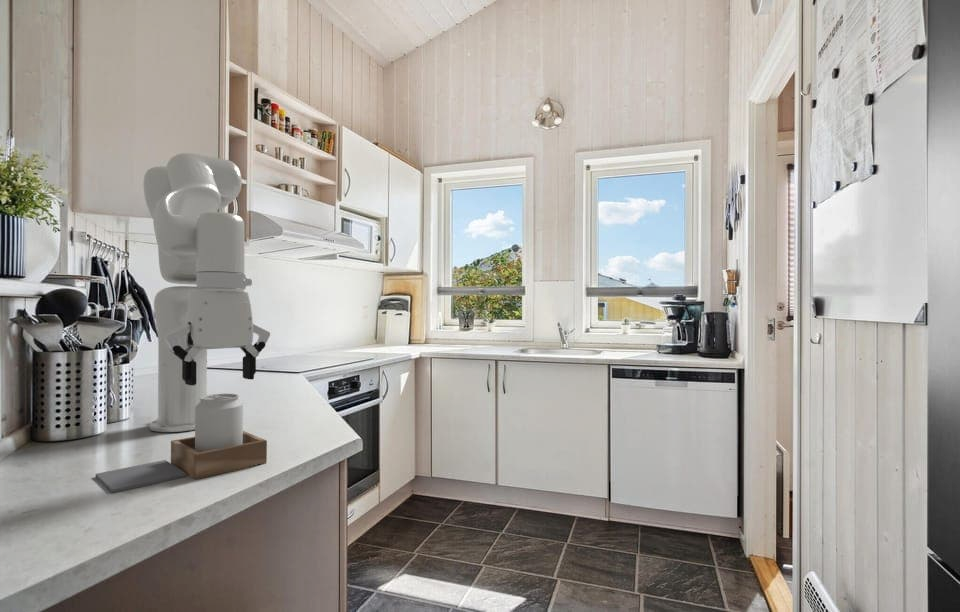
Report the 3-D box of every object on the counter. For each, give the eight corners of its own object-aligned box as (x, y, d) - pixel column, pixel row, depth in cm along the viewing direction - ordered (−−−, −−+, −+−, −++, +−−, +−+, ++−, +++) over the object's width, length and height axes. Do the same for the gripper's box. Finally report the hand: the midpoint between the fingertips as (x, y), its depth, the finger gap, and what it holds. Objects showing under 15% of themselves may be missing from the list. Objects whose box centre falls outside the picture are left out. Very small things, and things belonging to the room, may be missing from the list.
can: (222, 472, 85) (223, 400, 85) (184, 468, 87) (184, 398, 87) (251, 458, 92) (252, 392, 92) (215, 455, 94) (216, 390, 94)
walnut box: (170, 463, 89) (170, 440, 89) (238, 449, 98) (238, 428, 98) (195, 479, 81) (196, 454, 81) (266, 462, 90) (266, 440, 90)
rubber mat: (95, 476, 82) (95, 473, 82) (165, 462, 89) (165, 459, 89) (112, 493, 75) (112, 489, 75) (186, 476, 83) (186, 473, 83)
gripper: (259, 286, 98) (259, 375, 98) (157, 282, 85) (157, 385, 85) (278, 285, 93) (278, 378, 93) (173, 281, 80) (173, 389, 80)
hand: (220, 381), depth 89 cm, fingers open, 9 cm apart
